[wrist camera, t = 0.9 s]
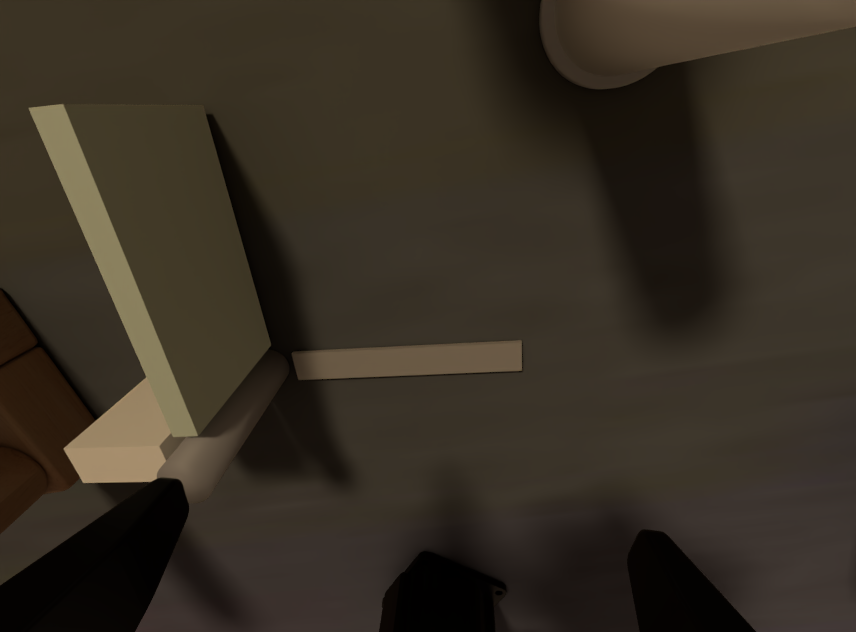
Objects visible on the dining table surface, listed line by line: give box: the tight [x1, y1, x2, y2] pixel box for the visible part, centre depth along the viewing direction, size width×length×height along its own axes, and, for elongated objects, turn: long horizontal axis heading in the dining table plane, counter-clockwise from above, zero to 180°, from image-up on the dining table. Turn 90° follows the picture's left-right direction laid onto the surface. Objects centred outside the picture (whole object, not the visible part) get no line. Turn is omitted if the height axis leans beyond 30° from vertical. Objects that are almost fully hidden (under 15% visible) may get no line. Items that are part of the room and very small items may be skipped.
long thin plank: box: [63, 340, 522, 503], centre depth 19 cm, size 18×2×8 cm, turn 96°
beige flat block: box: [29, 104, 271, 437], centre depth 17 cm, size 11×2×7 cm, turn 6°
